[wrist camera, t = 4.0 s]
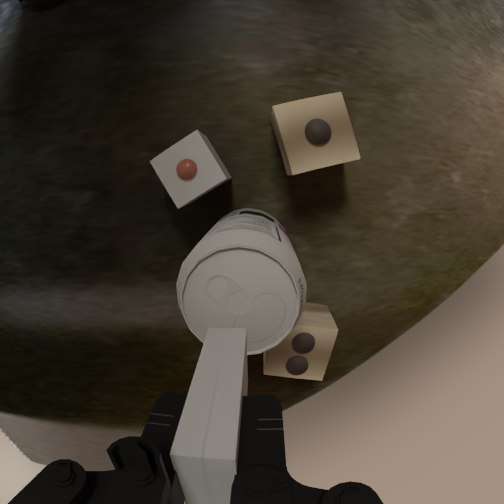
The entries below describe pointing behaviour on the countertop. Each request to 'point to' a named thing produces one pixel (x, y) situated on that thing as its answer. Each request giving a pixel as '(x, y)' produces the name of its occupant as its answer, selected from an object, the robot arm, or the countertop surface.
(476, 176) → the countertop surface
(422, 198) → the countertop surface
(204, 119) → the countertop surface
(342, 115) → the maple block
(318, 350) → the maple block
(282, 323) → the supplement can
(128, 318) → the countertop surface
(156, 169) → the grey plastic block
